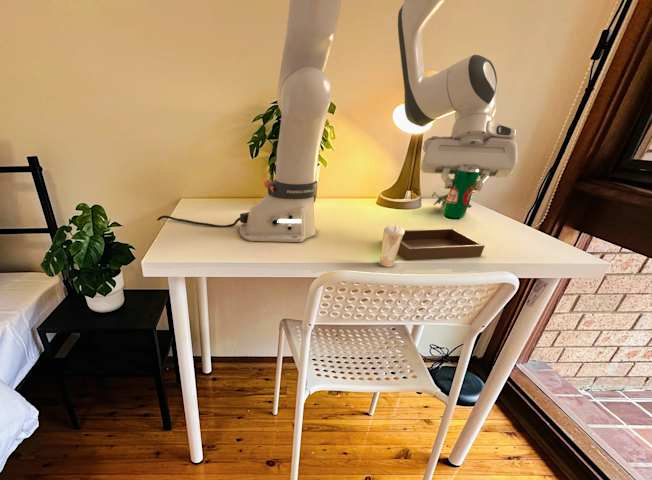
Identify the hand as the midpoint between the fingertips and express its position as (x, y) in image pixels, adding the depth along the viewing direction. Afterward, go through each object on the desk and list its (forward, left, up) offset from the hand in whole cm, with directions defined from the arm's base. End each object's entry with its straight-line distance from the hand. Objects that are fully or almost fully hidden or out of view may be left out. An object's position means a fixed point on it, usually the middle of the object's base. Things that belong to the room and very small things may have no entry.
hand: (462, 188), depth 89 cm
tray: (-4, +1, -15) cm, 15 cm away
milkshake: (-20, -8, -15) cm, 26 cm away
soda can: (0, +1, -7) cm, 7 cm away
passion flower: (+21, +33, -15) cm, 42 cm away
